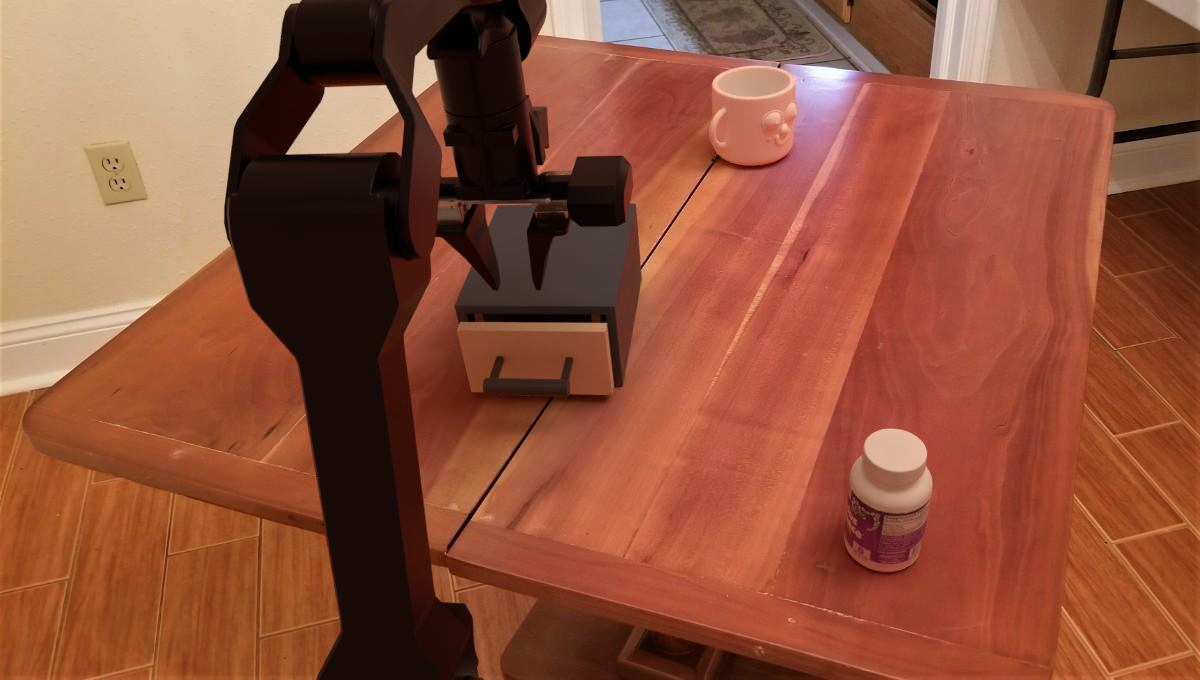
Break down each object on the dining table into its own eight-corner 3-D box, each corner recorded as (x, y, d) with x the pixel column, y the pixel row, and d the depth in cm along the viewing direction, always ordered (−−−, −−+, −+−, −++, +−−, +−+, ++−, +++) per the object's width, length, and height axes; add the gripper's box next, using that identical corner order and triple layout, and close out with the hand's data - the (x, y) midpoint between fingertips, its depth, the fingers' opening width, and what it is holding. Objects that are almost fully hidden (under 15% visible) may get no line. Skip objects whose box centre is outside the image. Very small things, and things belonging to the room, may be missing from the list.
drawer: (605, 429, 77) (598, 365, 73) (458, 425, 79) (442, 363, 75) (631, 290, 92) (626, 230, 88) (508, 289, 95) (497, 231, 90)
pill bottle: (830, 526, 68) (838, 430, 62) (897, 508, 69) (912, 412, 63) (863, 584, 64) (876, 487, 58) (935, 564, 65) (954, 467, 59)
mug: (743, 188, 108) (744, 114, 103) (683, 160, 115) (680, 90, 109) (813, 151, 114) (817, 80, 108) (751, 127, 120) (752, 58, 115)
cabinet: (623, 386, 83) (614, 306, 77) (472, 383, 85) (454, 305, 79) (641, 278, 96) (635, 203, 90) (510, 278, 98) (497, 205, 92)
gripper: (633, 49, 68) (646, 231, 78) (390, 58, 71) (432, 233, 81) (614, 115, 60) (632, 311, 69) (339, 123, 63) (392, 310, 72)
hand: (518, 287), depth 73 cm, fingers open, 3 cm apart
